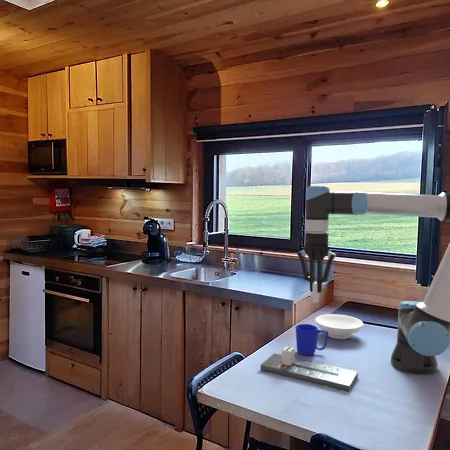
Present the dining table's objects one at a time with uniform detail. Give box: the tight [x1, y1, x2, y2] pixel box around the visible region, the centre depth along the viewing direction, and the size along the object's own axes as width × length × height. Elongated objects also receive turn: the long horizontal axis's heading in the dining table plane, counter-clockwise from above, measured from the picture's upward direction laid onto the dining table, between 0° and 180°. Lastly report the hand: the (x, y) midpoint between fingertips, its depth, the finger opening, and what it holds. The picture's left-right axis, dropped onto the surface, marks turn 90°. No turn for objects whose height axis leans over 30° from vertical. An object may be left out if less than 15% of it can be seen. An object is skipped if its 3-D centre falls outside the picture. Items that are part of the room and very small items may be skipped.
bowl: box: [315, 313, 364, 340], centre depth 181 cm, size 20×20×7 cm
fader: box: [281, 345, 296, 366], centre depth 147 cm, size 3×4×5 cm
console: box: [260, 353, 359, 393], centre depth 144 cm, size 30×12×2 cm, turn 60°
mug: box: [295, 323, 329, 356], centre depth 162 cm, size 8×12×10 cm
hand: (315, 301), depth 144 cm, fingers closed
